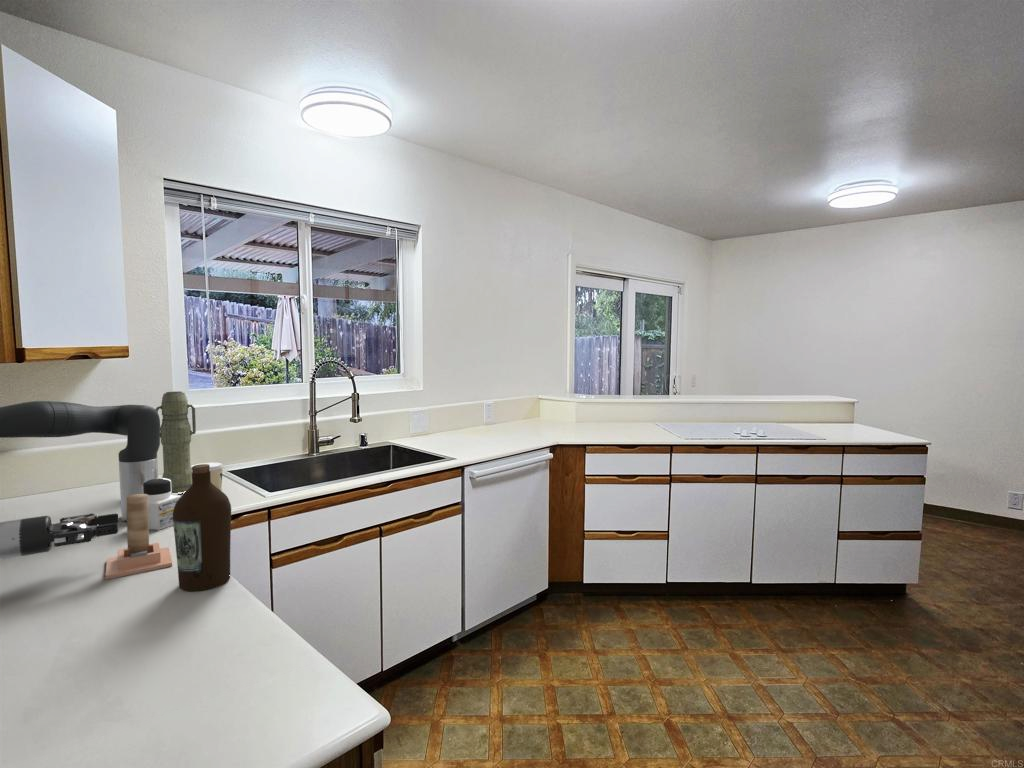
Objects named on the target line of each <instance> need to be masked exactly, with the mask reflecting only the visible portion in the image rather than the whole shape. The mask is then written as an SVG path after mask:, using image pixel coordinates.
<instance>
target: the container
mask: <svg viewBox="0 0 1024 768" xmlns="http://www.w3.org/2000/svg"><path fill="white" fill-rule="evenodd" d="M143 493H144V494H148V521H149V531H151V530H154V531H160V530H163V529H167V528H168V527H171V526H173V520H172V518H173V510H174V507H175V504H176V502H177V501H178V500H179V498H180V497H181V496H180V495H170V494H172V488H171V480H170V479H166V478H162V477H160V478H159V477H158V478H157V479H151V480H148V481H146V482H144V484H143Z"/></svg>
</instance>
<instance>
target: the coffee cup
mask: <svg viewBox="0 0 1024 768" xmlns="http://www.w3.org/2000/svg"><path fill="white" fill-rule="evenodd" d="M200 464H208V465H210V468H209V471H211V472H210V473H211V483H212V484H213V485H214V486H216V487H217V488H218V489H219V490H221V491H222V490H223V489H222V488H223V468H224V466H223V463H221V462H216V461H214V462H211V461H210V462H201V463H196V464H193V465H190V473H191V483H192V473H193V470H192V467H193V466H195V465H200ZM222 492H223V491H222Z"/></svg>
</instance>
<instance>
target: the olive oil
mask: <svg viewBox="0 0 1024 768" xmlns="http://www.w3.org/2000/svg"><path fill="white" fill-rule="evenodd" d="M199 464H200V463H199ZM194 465H195V464H194ZM209 468H210V465H208V464H200V465H195V466H193V467H192V470H193V473H192V485H191V487H190V488H189V489H188V490H187V491H186V492H185V493H184V494H181V496H180V498H179V500H178V501H177V502H176V504H175V507H174V510H173V518H172V520H173V525H172V526H173V533H174V542H175V544H174V545H175V553H176V554H175V556H176V562H177V563H176V564H177V575H178V587H179V589H180V590H181V591H185V592H203V591H209V590H212V589H215V588H217V587H220V586H222V585H224V584H225V583H227V582H228V581H229V580H230V579H231V532H232V527H231V526H232V504H231V501H230V499H229V497H228V496H227V495H226V493H225V492H223V491H221V490H219V489H218V488H217V487H216V486H214V485H213V484H212V483H211V473H210V472H211V471H209ZM229 575H230V576H229Z"/></svg>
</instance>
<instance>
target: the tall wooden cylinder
mask: <svg viewBox="0 0 1024 768" xmlns="http://www.w3.org/2000/svg"><path fill="white" fill-rule="evenodd" d="M126 500H127V521H126V527H127V529H126V532H127V533H126V534H127V537H126V538H127V548H128V557H130V556H131V554H133V553H138V552H144V551H147V553H149V544H150V541H149V540H150V534H149V533H150V529H149V521H148V494H135V495H130V496H127V497H126Z"/></svg>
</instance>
